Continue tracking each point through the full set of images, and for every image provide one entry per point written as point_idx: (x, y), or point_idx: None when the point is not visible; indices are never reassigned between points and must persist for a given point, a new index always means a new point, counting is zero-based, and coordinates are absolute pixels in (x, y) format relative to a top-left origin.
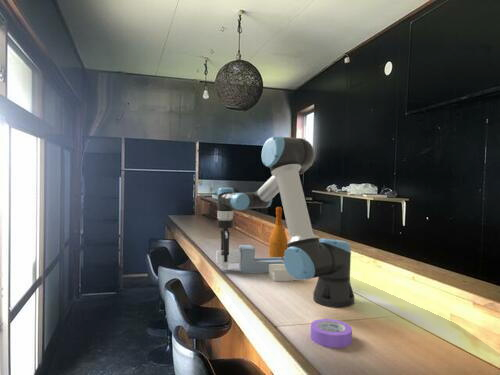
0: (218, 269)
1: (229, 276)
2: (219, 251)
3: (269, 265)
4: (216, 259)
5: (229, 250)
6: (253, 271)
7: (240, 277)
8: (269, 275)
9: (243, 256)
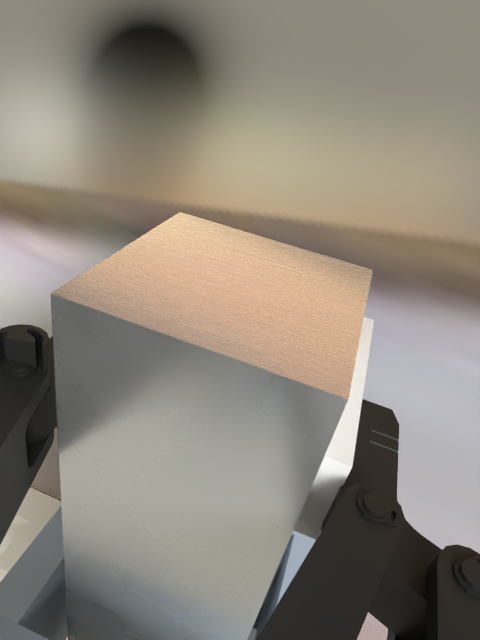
0: (384, 260)
1: (60, 248)
2: (164, 390)
3: (5, 564)
4: (311, 271)
5: (212, 575)
6: None
7: (24, 320)
8: (51, 498)
9: (39, 542)
